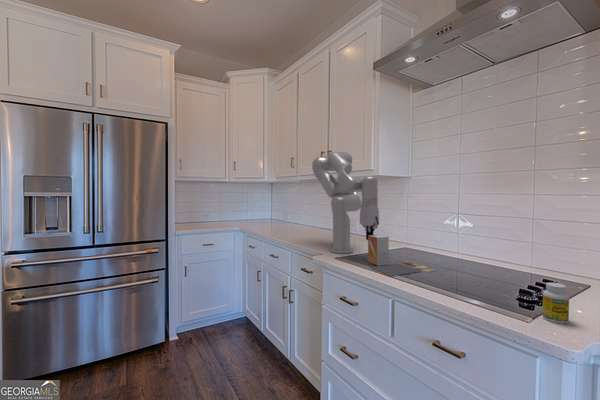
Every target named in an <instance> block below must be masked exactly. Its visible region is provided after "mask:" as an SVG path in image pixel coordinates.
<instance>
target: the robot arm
mask: <svg viewBox="0 0 600 400" xmlns="http://www.w3.org/2000/svg"><path fill="white" fill-rule="evenodd" d="M352 162H353V157H352V155H351V153H349V152H345V151H344V152H343V151H332V152H330V153H329V154H328V155H327V156H319V157H316V158H314V159H313V161H312V163H311V164H312V167H311V168H312V172H313V175H314V176H315V178H316V179H317V180H318V181H319V183H320V184H321V186H322V188H323V190H324V192H325V194H326V195H327V196H328V197H329V198H331V200H330V207H331V211H332V212H331V213H332V242H331V245H332V247H331V248H329V251H330V252H331V253H333V254H340V255H341V254H343V255H345V254H350V253H353V252H354V249H353V248H352V247H351V218H350V216H349V214H348V213H349V212H357V211H359V224H360V225H361V226H362V227H363V228H364V230H365V232H366V233H365V240H367V241H368V235H374V232H375V230H376V229H378V228H379V227H378V226H379V225H380V214H379V213H380V211H379V205H378V204H379V203H378V202H379V200H378V199H379V198H378V197H379V193H378V187H379V186H378V178H377V177H376V176H349V175H350V174H351V172H352V170H353V165H352ZM330 172H336V173H337V180H336V179H335V177H334V175H332V173H330ZM358 193H361V197H360V195H359V194H358Z"/></svg>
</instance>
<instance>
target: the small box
mask: <svg viewBox="0 0 600 400" xmlns="http://www.w3.org/2000/svg"><path fill="white" fill-rule="evenodd" d="M389 238H390V237H389V236H387V235H381V234H373V235H368V240H367V257H368V258H367V259H368V260H367V261H368V263H370V264H372V265H375V266H382V265H390V247H389V243H390V242H389Z"/></svg>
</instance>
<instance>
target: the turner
mask: <svg viewBox="0 0 600 400" xmlns="http://www.w3.org/2000/svg"><path fill="white" fill-rule="evenodd" d="M400 263H401V264H403V265H406V266H407V265H408V266H409V267H412V268H413V269H416V270H419V271H421V272H423V273H433V272H436V269H434V268H430V267H428V266H425V265H420V264H416V263H414V262H411V261H407V260H404V259H402V260H400Z"/></svg>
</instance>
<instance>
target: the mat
mask: <svg viewBox="0 0 600 400" xmlns="http://www.w3.org/2000/svg"><path fill="white" fill-rule="evenodd" d="M369 268H370V269H371V268H372V269H371V270H373V269H374V270H373V271H376V270H377V271H376V272H378V271H379V272H378V273H380V272H381V274H384V275H385V276H388V277H391V278H392V277H396V276H395V275H399V276H403V275H404V274H405V275H410V274H411V275H412V274H419V273H421V272H422V271H420V270H417V269H414V267H411V266H407V265H405V264H402V263H401V264H400V263H391V264H390V263H389V265H380V266H377V265H375V266H369Z"/></svg>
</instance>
